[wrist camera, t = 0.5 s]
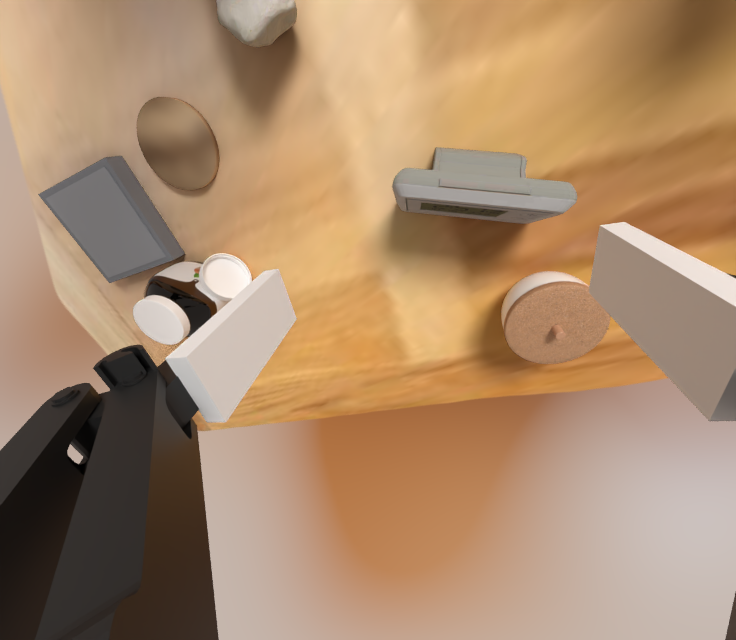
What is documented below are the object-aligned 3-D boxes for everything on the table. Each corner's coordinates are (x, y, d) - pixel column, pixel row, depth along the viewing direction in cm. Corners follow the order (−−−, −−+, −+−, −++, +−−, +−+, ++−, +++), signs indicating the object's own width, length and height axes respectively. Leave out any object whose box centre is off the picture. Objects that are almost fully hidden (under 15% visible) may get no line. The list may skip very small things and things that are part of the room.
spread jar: (179, 289, 51) (120, 328, 42) (185, 228, 45) (119, 256, 36) (247, 321, 53) (205, 366, 43) (262, 265, 46) (218, 302, 37)
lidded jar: (580, 323, 43) (614, 368, 35) (497, 334, 46) (511, 378, 38) (583, 249, 38) (623, 282, 30) (489, 268, 41) (503, 302, 33)
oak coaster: (126, 117, 39) (120, 117, 38) (187, 82, 35) (181, 81, 35) (176, 199, 43) (171, 200, 42) (233, 173, 40) (229, 174, 39)
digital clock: (390, 204, 39) (379, 228, 30) (415, 121, 34) (410, 120, 25) (515, 244, 39) (540, 279, 30) (557, 167, 34) (603, 182, 25)
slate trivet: (56, 191, 46) (37, 194, 43) (121, 155, 41) (104, 157, 39) (122, 276, 52) (108, 283, 50) (185, 253, 48) (173, 260, 45)
